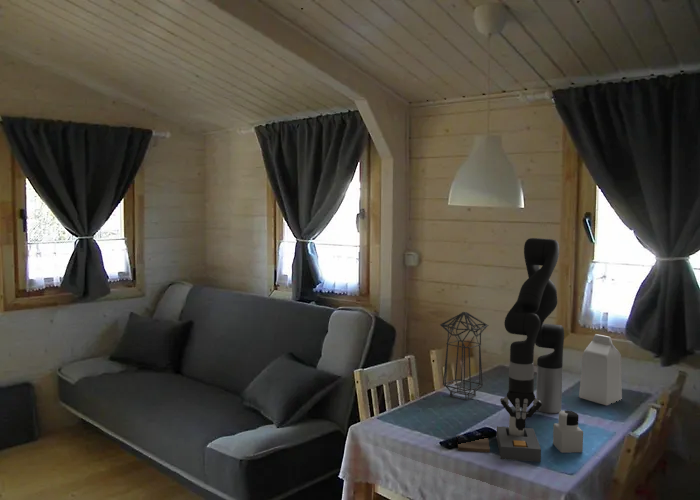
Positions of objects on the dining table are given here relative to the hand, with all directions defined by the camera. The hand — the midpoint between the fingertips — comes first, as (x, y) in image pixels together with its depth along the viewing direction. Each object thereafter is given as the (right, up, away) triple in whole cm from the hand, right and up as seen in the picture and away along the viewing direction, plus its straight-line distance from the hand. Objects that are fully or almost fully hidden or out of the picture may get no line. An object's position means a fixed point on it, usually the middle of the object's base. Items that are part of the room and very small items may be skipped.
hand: (520, 429), depth 187 cm
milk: (+49, -4, +56) cm, 74 cm away
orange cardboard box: (0, -8, +1) cm, 8 cm away
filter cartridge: (+1, -8, +10) cm, 13 cm away
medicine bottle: (+17, -8, +7) cm, 20 cm away
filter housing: (+1, -8, +6) cm, 10 cm away
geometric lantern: (-7, -4, +60) cm, 60 cm away
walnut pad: (-13, -8, +9) cm, 18 cm away
